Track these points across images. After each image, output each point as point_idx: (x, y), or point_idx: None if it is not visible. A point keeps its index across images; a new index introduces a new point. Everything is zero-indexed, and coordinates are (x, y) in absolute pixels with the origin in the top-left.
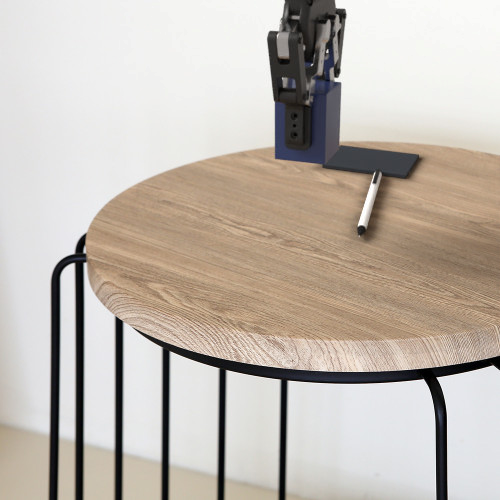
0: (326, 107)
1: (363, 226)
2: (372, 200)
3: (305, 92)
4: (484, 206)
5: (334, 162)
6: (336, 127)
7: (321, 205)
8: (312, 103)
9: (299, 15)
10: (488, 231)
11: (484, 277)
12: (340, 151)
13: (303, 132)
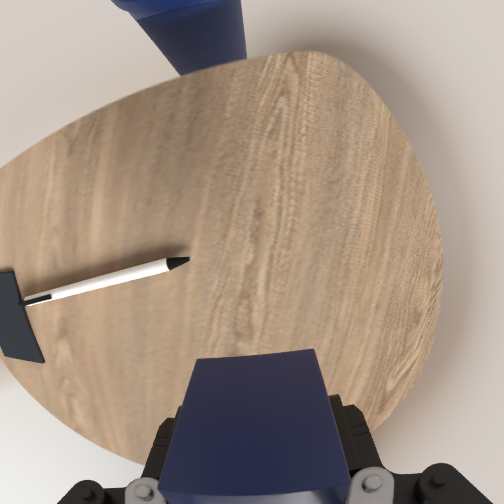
0: (342, 449)
1: (168, 262)
2: (87, 282)
3: (435, 490)
4: (31, 159)
5: (32, 353)
6: (221, 396)
7: (120, 336)
8: (358, 475)
9: None
10: (86, 122)
11: (215, 77)
12: (13, 353)
13: (357, 425)
